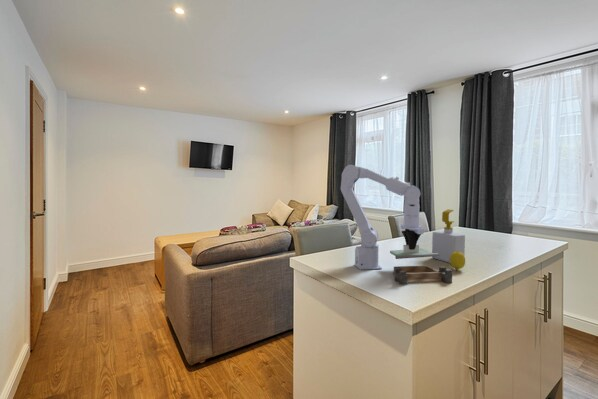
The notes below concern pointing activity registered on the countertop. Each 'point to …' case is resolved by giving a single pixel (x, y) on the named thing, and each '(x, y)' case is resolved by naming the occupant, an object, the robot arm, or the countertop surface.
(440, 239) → the soap bottle
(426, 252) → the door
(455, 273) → the countertop surface
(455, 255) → the lemon
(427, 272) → the brown wooden tray
